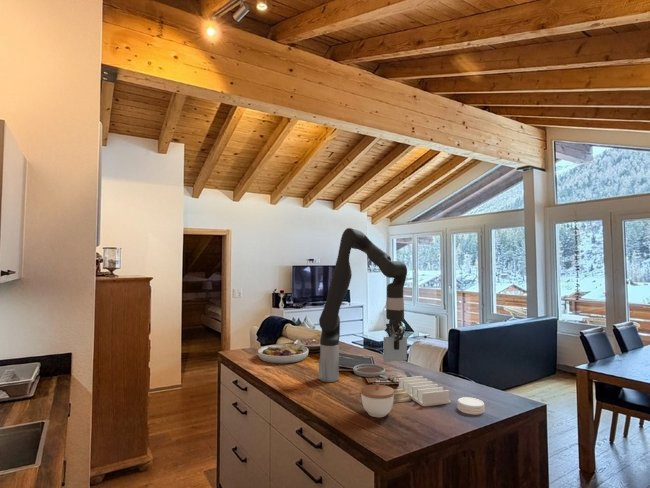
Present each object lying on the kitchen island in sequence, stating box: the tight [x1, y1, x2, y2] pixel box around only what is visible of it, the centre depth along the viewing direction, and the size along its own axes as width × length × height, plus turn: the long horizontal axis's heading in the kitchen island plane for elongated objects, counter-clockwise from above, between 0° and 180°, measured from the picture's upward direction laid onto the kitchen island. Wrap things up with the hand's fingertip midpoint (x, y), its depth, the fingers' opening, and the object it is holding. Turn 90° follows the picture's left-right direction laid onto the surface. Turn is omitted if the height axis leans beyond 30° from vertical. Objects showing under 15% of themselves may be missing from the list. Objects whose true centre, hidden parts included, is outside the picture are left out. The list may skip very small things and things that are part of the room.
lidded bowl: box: [360, 383, 395, 418], centre depth 149 cm, size 13×13×11 cm
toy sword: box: [352, 363, 397, 383], centre depth 197 cm, size 17×3×28 cm
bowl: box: [257, 343, 309, 365], centre depth 231 cm, size 30×30×8 cm
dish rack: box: [397, 375, 452, 407], centre depth 168 cm, size 13×22×5 cm, turn 17°
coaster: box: [456, 396, 485, 416], centre depth 153 cm, size 10×10×4 cm
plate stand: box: [393, 388, 412, 404], centre depth 164 cm, size 12×8×3 cm, turn 107°
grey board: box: [383, 335, 408, 363], centre depth 165 cm, size 10×2×10 cm, turn 107°
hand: (395, 348), depth 165 cm, fingers closed on grey board, 2 cm apart
